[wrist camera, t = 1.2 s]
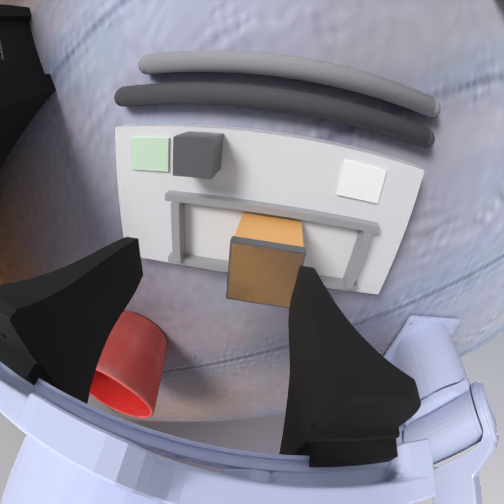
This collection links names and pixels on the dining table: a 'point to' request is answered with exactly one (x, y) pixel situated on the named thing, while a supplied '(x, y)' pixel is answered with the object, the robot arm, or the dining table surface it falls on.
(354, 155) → the white base panel
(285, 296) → the lever
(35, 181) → the dining table surface
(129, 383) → the flower pot
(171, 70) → the cord
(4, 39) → the uninterruptible power supply
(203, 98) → the cord
